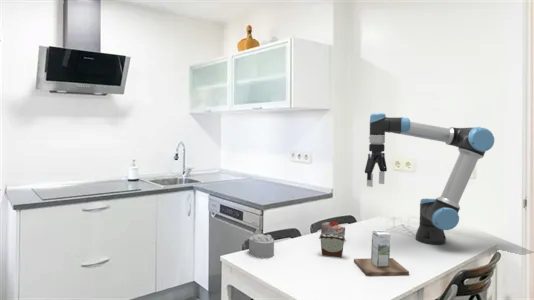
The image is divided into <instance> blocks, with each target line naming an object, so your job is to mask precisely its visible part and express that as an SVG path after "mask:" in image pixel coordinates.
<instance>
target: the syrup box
mask: <svg viewBox="0 0 534 300" xmlns="http://www.w3.org/2000/svg"><path fill="white" fill-rule="evenodd" d="M391 236H392V235H391V233H389V232H388V231H386V230H384V229H383V230H382V229H381V230H372V232H371V254H370V258H371V263H372V264H374V265H375V266H376V267H388V266H389V259H390V258H391V257H390V256H391V255H390V254H391Z"/></svg>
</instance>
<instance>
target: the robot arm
mask: <svg viewBox="0 0 534 300" xmlns="http://www.w3.org/2000/svg"><path fill="white" fill-rule="evenodd" d="M386 133H388V134H389V133H392V134H398V135H403V136H409V137H415V138H420V139H426V140H430V141H437V142H442V143H445V144H446V145H447V146H453V147H456V148H458V149H457V150H458V151H459V154H458V157H457V159H456V161H455V164H454V166H453V168H452V170H451V172H450V175H449V177H448V180H447V181H446V184H445V186H444V188H443V191H442V193H441V195H440V196H438V197H436V198H421V199H420V200H419V201H420V203H419V225H418V229H417V230H416V233H415V240H416V241H418V242H419V243H424V244H426V245H427V244H429V245H444V244H446V243H447V237H446V234H445V231H450V230H452V229H454V228H456V227H457V226H458V224H459V222H460V216H459V212H460V210H461V207H460V205H459V203H460V201H461V198H462V196H463V194H464V192H465V189H466V187H467V186H468V183H469V181H470V178H471V176H472V174H473V172H474V170H475V168H476V165H477V163H478V161H479V160H480V159H482V158H484V157H485V155H486V152H488V151H489V150H491V149H492V147H493V146H494V143H495V137H494V134H493V133H492V131H491V130H490V129H488V128H486V127H481V126H476V127H474V126H473V127H453V126H450V127H448V128H447V127H443V126H442V127H440V126H435V125H431V124H424V123H419V122H413V121H411V120H410V118H409V117H403V116H401V117H386V113H383V112H382V113H379V112H375V113H371V114H370V119H369V137H368V141H369V145H368V149H369V150H368V151H369V152H371V153H367V161H366V164H365V169H364V173H365V174H366V187H369V188H370V187H371V188H372V187H373V183H374V181H373V180H374V179H373V178H374V177H373V176H374V173H373V171H374V169H375V166H376V164H377V165H378V169H379V170H378V184H379V185H384V184H385V174H386V173H385V172H387V171H388V168H387V162H386V157H385V155H386V154H385V142H386Z"/></svg>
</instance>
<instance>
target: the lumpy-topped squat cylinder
mask: <svg viewBox="0 0 534 300" xmlns="http://www.w3.org/2000/svg"><path fill="white" fill-rule="evenodd" d="M248 253H249V254H250V255H251V256H253V257H254V258H255V257H256V258H260V259H271V258H273V257H274V256H275V239H274V238H273V237H272V235H271V234H263V233H259V234H254V235H252V236H249V237H248Z"/></svg>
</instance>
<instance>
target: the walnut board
mask: <svg viewBox="0 0 534 300" xmlns="http://www.w3.org/2000/svg"><path fill="white" fill-rule="evenodd" d="M353 263H354V264H355V265H356V266H357V267H358V269H360V271H361V272H362V273H363V274H364V275H365V276H366V277H380V276H381V277H383V276H385V277H389V276H392V277H393V276H410V271H409V270H408V269H407V268H405V267H404V266H403V265H402V264H400V263H399V262H398V261H396V259H394V258H392V257H390V259H389V266H388V267H376V266H375V265H374V264H372V263H371V257H370V258H353Z"/></svg>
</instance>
